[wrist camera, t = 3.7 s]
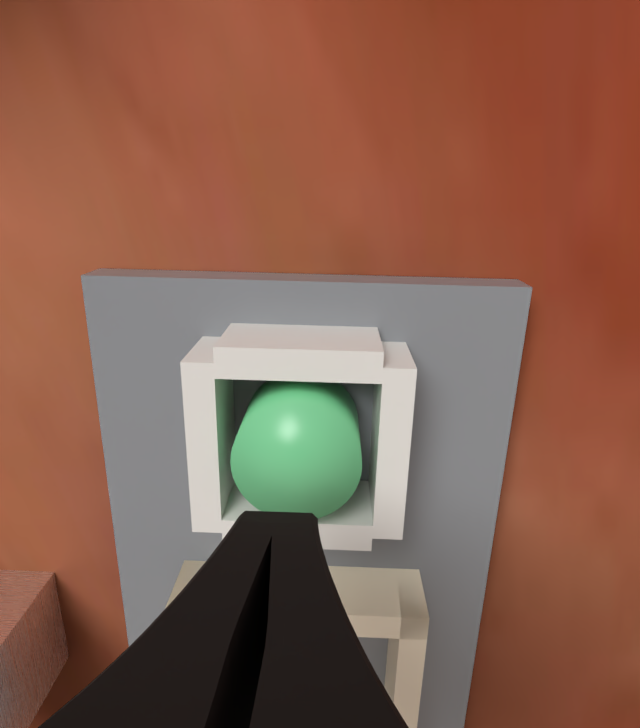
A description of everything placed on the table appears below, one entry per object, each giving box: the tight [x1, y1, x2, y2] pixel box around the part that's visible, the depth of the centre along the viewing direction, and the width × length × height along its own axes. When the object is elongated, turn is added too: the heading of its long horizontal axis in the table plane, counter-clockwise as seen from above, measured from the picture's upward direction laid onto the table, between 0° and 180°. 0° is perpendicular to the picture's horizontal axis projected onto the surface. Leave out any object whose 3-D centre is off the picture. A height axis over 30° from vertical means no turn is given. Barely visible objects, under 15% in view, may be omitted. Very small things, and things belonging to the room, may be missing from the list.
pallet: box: [81, 268, 532, 728], centre depth 16 cm, size 12×18×3 cm, turn 179°
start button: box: [230, 381, 362, 518], centre depth 14 cm, size 3×3×2 cm
